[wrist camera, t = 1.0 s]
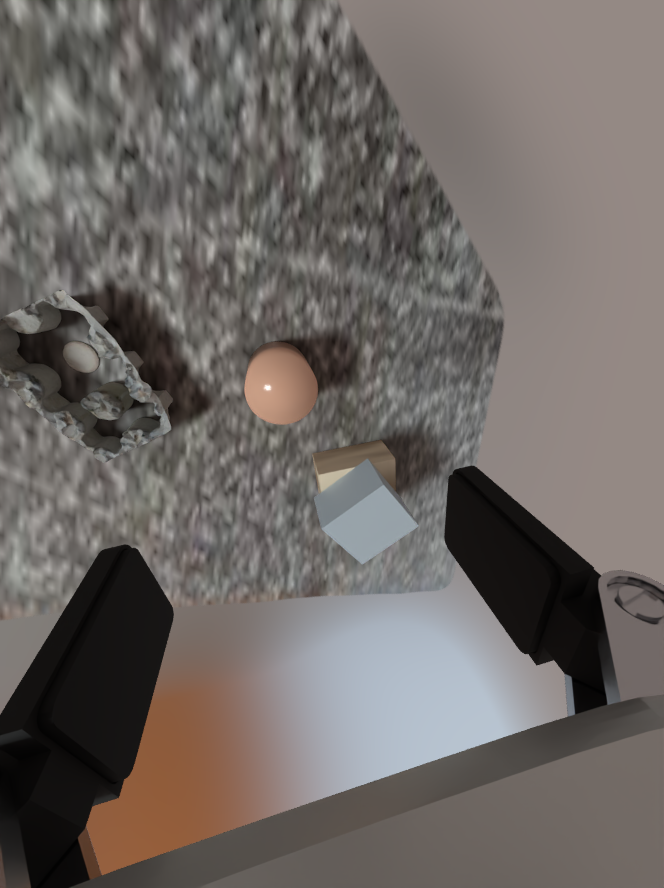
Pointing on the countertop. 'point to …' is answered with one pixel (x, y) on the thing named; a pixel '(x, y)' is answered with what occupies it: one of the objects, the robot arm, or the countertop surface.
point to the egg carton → (105, 402)
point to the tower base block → (353, 462)
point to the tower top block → (363, 512)
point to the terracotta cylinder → (280, 383)
